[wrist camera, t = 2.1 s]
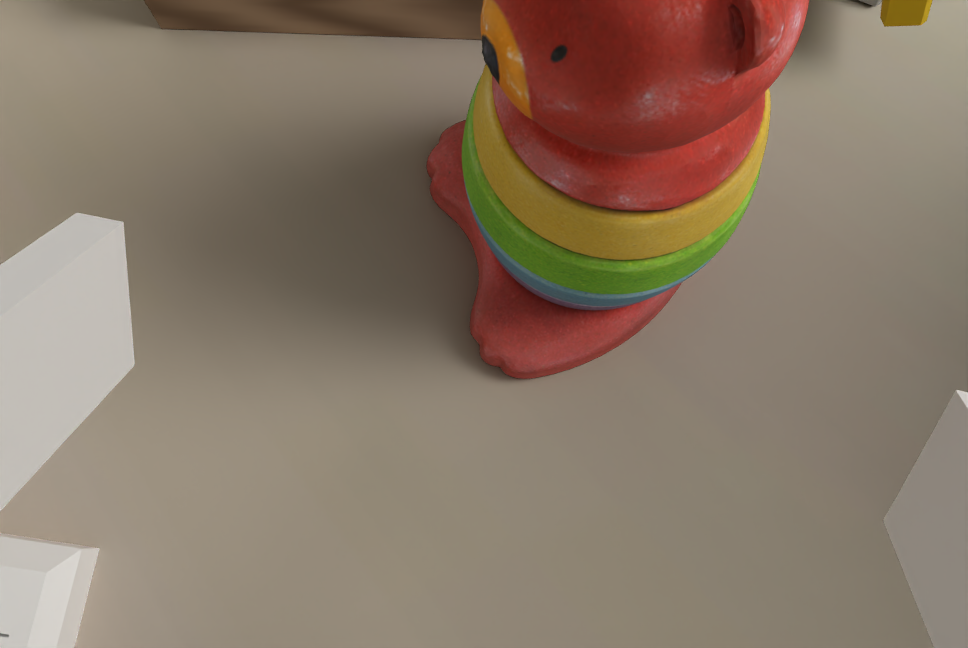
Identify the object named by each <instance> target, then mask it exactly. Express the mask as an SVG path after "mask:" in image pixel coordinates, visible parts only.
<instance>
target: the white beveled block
mask: <svg viewBox="0 0 968 648" xmlns="http://www.w3.org/2000/svg"><path fill="white" fill-rule="evenodd" d="M99 549H100V548H96V547H90V546H83V545H77V544H70V543H64V542H57V541H51V540H44V539H38V538H31V537H25V536H18V535H12V534H5V533H0V648H74V647H75V643H76V639H77V636H78V632H79V628H80V624H81V620H82V616H83V612H84V608H85V604H86V600H87V596H88V592H89V588H90V584H91V580H92V576H93V572H94V568H95V564H96V561H97V557H98V553H99Z"/></svg>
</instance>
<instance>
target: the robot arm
mask: <svg viewBox="0 0 968 648" xmlns="http://www.w3.org/2000/svg"><path fill="white" fill-rule="evenodd" d="M134 365H135V360H134V347H133V335H132V322H131V310H130V297H129V285H128V272H127V260H126V247H125V235H124V222H122V221H117V220H112V219H107V218H102V217H97V216H92V215H87V214H82V213H75V214H74V215H72V216H71V217H69V218H68V219H67V220H65V221H64V222H62V223H61V224H59V225H58V226H56V227H55V228H53V229H52V230H50V231H49V232H47V233H46V234H45V235H43V236H42V237H40V238H39V239H37V240H36V241H34V242H33V243H31V244H30V245H28V246H27V247H26V248H24V249H23V250H21V251H20V252H18V253H17V254H15V255H14V256H12V257H11V258H9V259H8V260H6V261H5V262H4V263H2V264H1V265H0V511H1V510H2V509H3V508H4V507H5V506H6V505H7V503H8V502H9V501H10V500H11V499H12V498H13V497H14V496H15V495H16V494H17V493H18V491H19V490H20V489H21V488H22V487H23V486H24V485H25V484H26V483H27V482H28V481H29V480H30V478H31V477H32V476H33V475H34V474H35V473H36V472H37V471H38V470H39V469H40V468H41V466H42V465H43V464H44V463H45V462H46V461H47V460H48V459H49V458H50V457H51V456H52V455H53V453H54V452H55V451H56V450H57V449H58V448H59V447H60V446H61V445H62V444H63V443H64V442H65V440H66V439H67V438H68V437H69V436H70V435H71V434H72V433H73V432H74V431H75V430H76V428H77V427H78V426H79V425H80V424H81V423H82V422H83V421H84V420H85V419H86V418H87V417H88V415H89V414H90V413H91V412H92V411H93V410H94V409H95V408H96V407H97V406H98V405H99V403H100V402H101V401H102V400H103V399H104V398H105V397H106V396H107V395H108V394H109V393H110V392H111V390H112V389H113V388H114V387H115V386H116V385H117V384H118V383H119V382H120V381H121V380H122V379H123V377H124V376H125V375H126V374H127V373H128V372H129V371H130V370H131V369H132V368H133V367H134ZM883 522H884V525H885V527H886V530H887V532H888V535H889V537H890V540H891V542H892V545H893V547H894V550H895V552H896V555H897V557H898V560H899V562H900V564H901V567H902V569H903V572H904V574H905V577H906V579H907V582H908V584H909V587H910V589H911V592H912V594H913V597H914V599H915V602H916V604H917V607H918V609H919V612H920V614H921V617H922V619H923V622H924V624H925V627H926V629H927V632H928V634H929V637H930V639H931V642H932V644H933V646H934V648H968V392H964V391H959V390H955V392H954V394H953V396H952V398H951V399H950V401H949V403H948V405H947V407H946V408H945V410H944V412H943V414H942V416H941V417H940V419H939V421H938V423H937V425H936V426H935V428H934V430H933V432H932V434H931V435H930V437H929V439H928V441H927V443H926V444H925V446H924V448H923V450H922V452H921V453H920V455H919V457H918V459H917V461H916V462H915V464H914V466H913V468H912V470H911V471H910V473H909V475H908V477H907V479H906V480H905V482H904V484H903V486H902V488H901V489H900V491H899V493H898V495H897V496H896V498H895V500H894V502H893V504H892V505H891V507H890V509H889V511H888V513H887V514H886V516H885V518H884V520H883Z"/></svg>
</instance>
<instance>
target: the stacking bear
mask: <svg viewBox="0 0 968 648" xmlns="http://www.w3.org/2000/svg"><path fill="white" fill-rule="evenodd" d="M808 4H809V0H483V6H482V12H481V38H482V48H483V50H482V53H483V56H484V61H485V62H486V65H485V67H484V70H483V73H482V75H481V77H480V79H479V81H478V83H477V86H476V89H475V91H474V94H473V97H472V99H471V103H470V107H469V110H468V114H467V118H466V120H464V121H461V122H459V123H456V124H455V125H453V126H451V127H450V128H447V129H446V130H445V131H444V132H443V133H442V134H441V137H440V139H439V143H438V144H437V146H436V147H435V148H434V149H433V150H432V152H431V153H430V155H429V157H428V161H427V172H428V174H429V176H430V178H431V179H432V181H431V185H430V193H431V195H432V197H433V199H434V201H435V202H436V203H437V205H438V206H439V207H440V208H441V209H442V210H443V211H445V212H446V213H447V214H448V215H449V216H450V217H451V218H452V219H453V220H455V221H456V222H457V223H458V224H459V226H460V227H461V228H462V230H463V231H464V232H465V233H466V235H467V237H468V238H469V240H470V242H471V244H472V246H473V249H474V251H475V255H476V259H477V264H478V270H479V284H478V290H477V295H476V298H475V301H474V304H473V308H472V312H471V317H470V331H471V335H472V336H473V338H474V339H475V340H476V341H477V342H478V343H479V346H480V356H481V358H482V359H483V360H484V361H485V362H486V363H488V364H490V365H492V366H498V367H500V368H501V369H502V370H503V372H504V373H505V374H507V375H509V376H512V377H515V378H523V379H528V378H537V377H541V376H546V375H551V374H555V373H558V372H562V371H565V370H568V369H571V368H574V367H577V366H579V365H582V364H584V363H587V362H589V361H591V360H593V359H595V358H598V357H600V356H602V355H603V354H605V353H607V352H609V351H610V350H612V349H614V348H616V347H617V346H619V345H621V344H622V343H624V342H625V341H626V340H628V339H629V338H631V337H632V336H633V335H635V334H636V333H637V332H639V331H640V330H641V329H642V328H643V327H644V326H645V325H647V324H648V323H649V322H650V321H651V320H652V319H653V318H654V317H655V316H656V315H657V314H658V313H659V312H660V311H661V309H662V308H663V307H664V306H665V305H666V304H667V302H668V301H669V300H670V298H671V297H672V296H673V294H674V293H675V292H676V290H677V289H678V288H679V286H680V285H681V283H682V282H683V281H684V280H686V279H687V278H689V277H690V276H692V275H693V274H695V273H696V272H697V271H698V270H700V269H701V268H702V267H703V266H705V265H706V264H707V263H708V262H709V261H710V260H711V259H712V258H713V257H714V256H715V255H716V253H717V252H718V251H719V250H720V249H721V248H722V247H723V246H724V244H725V243H726V242H727V241H728V239H729V238H730V237H731V235H732V234H733V232H734V231H735V229H736V227H737V225H738V224H739V222H740V220H741V218H742V216H743V214H744V212H745V210H746V208H747V206H748V204H749V202H750V199H751V197H752V194H753V191H754V189H755V186H756V183H757V180H758V177H759V172H760V168H761V162H762V159H763V155H764V151H765V147H766V142H767V138H768V131H769V122H770V108H771V104H770V90H769V87H770V86H771V85H772V83H773V82H774V81H775V80H776V79H777V77H778V76H779V75H780V73H781V72H782V70H783V69H784V67H785V65H786V64H787V62H788V60H789V59H790V57H791V55H792V53H793V51H794V49H795V46H796V44H797V42H798V39H799V37H800V34H801V31H802V29H803V26H804V22H805V18H806V14H807V10H808Z"/></svg>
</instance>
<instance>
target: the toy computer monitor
mask: <svg viewBox="0 0 968 648" xmlns="http://www.w3.org/2000/svg"><path fill="white" fill-rule="evenodd" d="M859 1H862V2H864V3H867V4H870V5H872V6H876V5H879V4H880V3H881V2H882V7H881V17H880V18H881V20H882V22H883V24H884V26H912V25H922V24H923V23H924V22H926V21H927V18H928V14H929V11H930V7H931V4H932V0H859Z"/></svg>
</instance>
